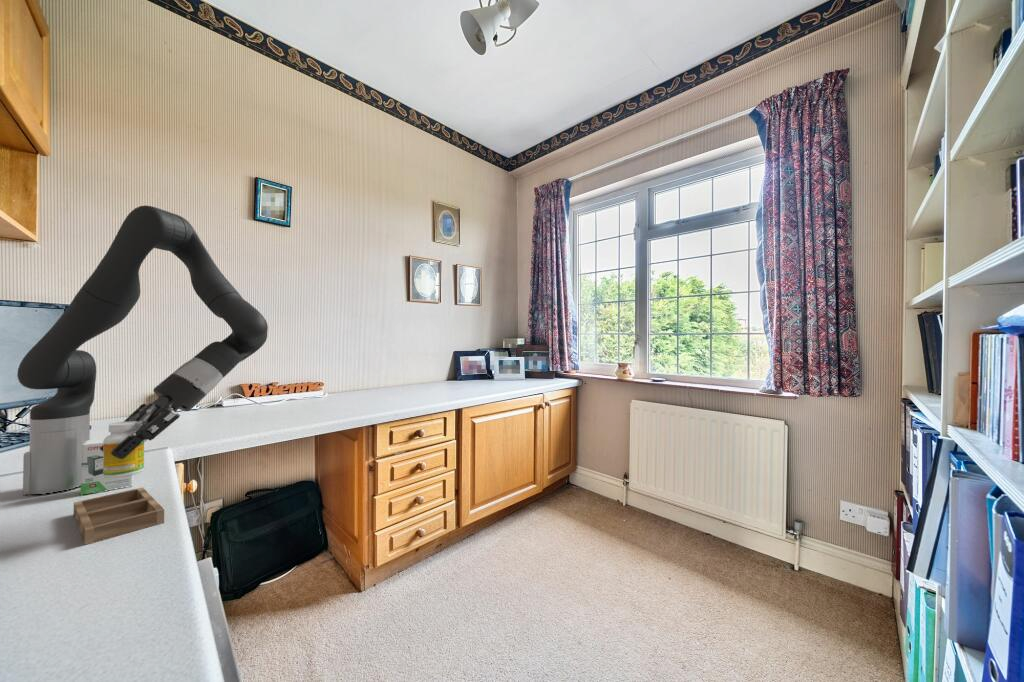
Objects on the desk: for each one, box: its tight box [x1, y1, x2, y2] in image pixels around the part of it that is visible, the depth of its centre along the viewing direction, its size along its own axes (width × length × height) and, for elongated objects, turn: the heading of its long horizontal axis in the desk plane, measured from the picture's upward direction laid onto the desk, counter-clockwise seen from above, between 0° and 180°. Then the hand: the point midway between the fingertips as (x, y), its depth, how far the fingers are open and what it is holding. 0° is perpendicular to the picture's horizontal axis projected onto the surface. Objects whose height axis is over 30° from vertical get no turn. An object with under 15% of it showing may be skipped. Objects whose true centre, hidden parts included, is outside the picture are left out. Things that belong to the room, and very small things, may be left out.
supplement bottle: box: [103, 420, 145, 478], centre depth 71 cm, size 5×5×10 cm
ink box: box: [79, 437, 135, 496], centre depth 89 cm, size 9×5×12 cm, turn 133°
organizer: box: [73, 486, 165, 546], centre depth 73 cm, size 20×10×2 cm, turn 53°
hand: (110, 454), depth 69 cm, fingers closed on supplement bottle, 5 cm apart
